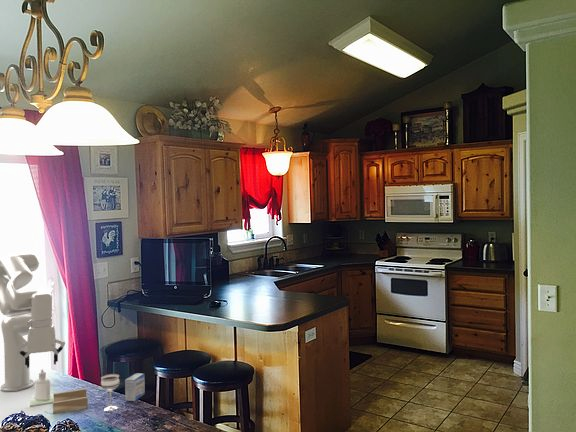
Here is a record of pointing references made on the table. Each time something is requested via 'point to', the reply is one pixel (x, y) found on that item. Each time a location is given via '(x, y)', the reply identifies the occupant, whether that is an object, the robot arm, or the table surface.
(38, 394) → the eye dropper bottle
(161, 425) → the table surface
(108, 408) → the wineglass
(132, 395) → the medicine box
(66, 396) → the maple channel
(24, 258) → the robot arm
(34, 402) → the sage mat
